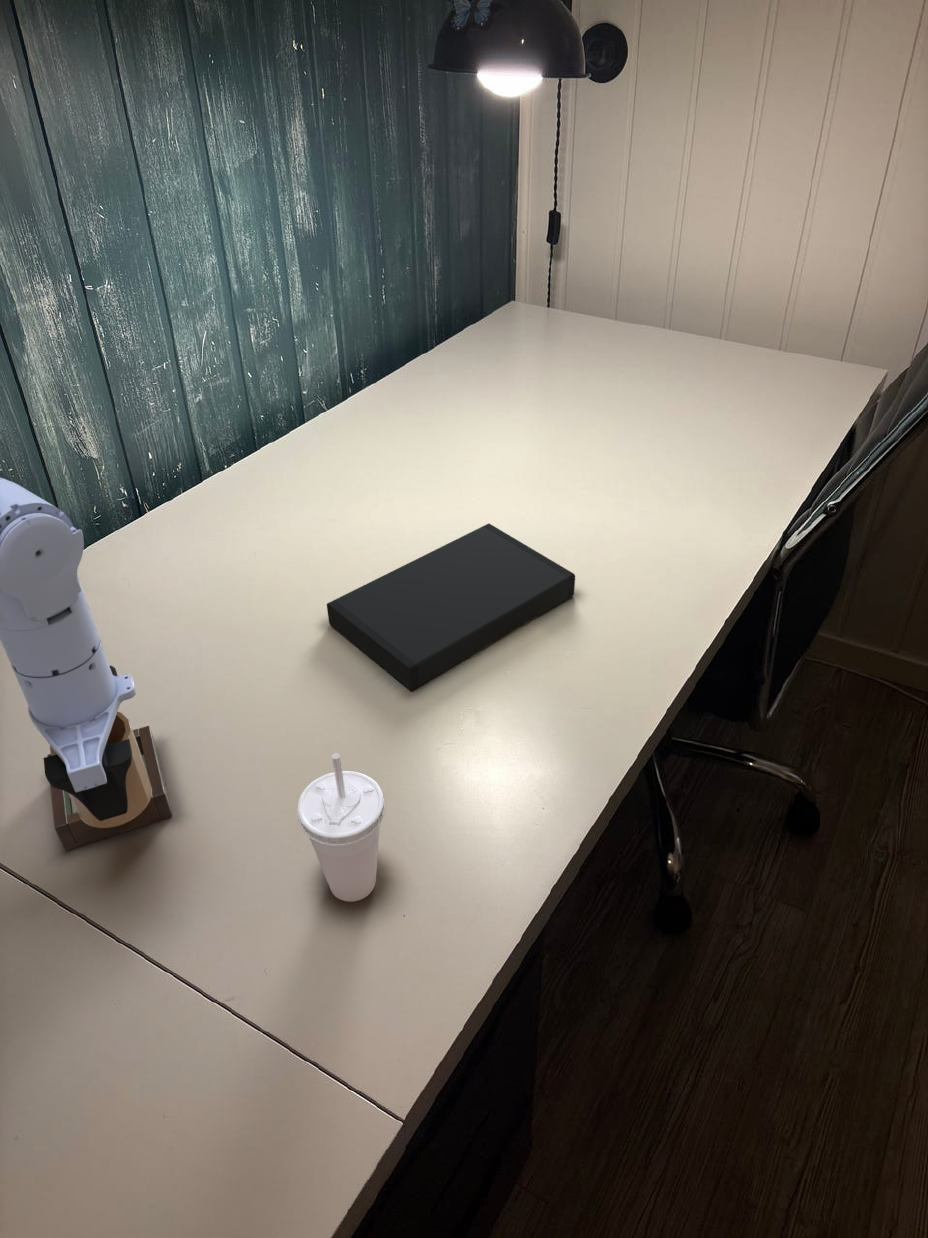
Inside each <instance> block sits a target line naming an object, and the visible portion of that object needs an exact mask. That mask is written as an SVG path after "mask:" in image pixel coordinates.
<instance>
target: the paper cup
mask: <svg viewBox="0 0 928 1238" xmlns="http://www.w3.org/2000/svg"><path fill="white" fill-rule="evenodd" d="M133 730H134V729H133V727H132V725H131V721H130V719H129V718H128V717H127V716H126V715H124V714H123V713H122V712H121V711H119V710H118V711H117V714H116V717H115V720H114V723H113V726H112V729H111V731H110V734H109V737H108V740H107V743H106V745H109V744H113V743H116V742H120V741H123V740H127V739H130V744H131V750H132V761H131V765H130V767H129V769H128V772H127V775H126V791H127V799H128V810H127V813H126V814H122V815H119V816H116V817H113V818H110V819H106V820H103V821H99V820H98V819H97V818H96V817H94V816H93V815H92V814H91V812H90V811H89V810H88V809H87V808H86V807H85V806H84V805H83V804H82V803H81V802H80V801H79V800H78V799H77V798H76V797H74V796H73V795H71V794H70V793H68V794H69V796H70V799H71V801H72V803H73V806H74V808H75V810H76V812H77V814H78V815H79V817H80V819H81V820H82V821H83V822H84V823H86V824H88V825H90V826H93V827H98V828H110V827H115V826H119V825H122V824H125V823H127V822H129V821H131V820H132V819H134V818H135V817H137V816H138V815H139V814H140V813H142V811H143V810H144V809H145V808H146V807H147V805H148V804H149V802H150V799H151V796H152V786H151V783H150V779H149V776H148V773H147V770H146V767H145V764H144V762H143V759H142V756H141V753H140V750H139V747H138V744H137V741H136V738H135V736H134V733H133ZM49 754H51V755H56V754H57V753H56V752H55V751H54V749H53V748H52V747H51V746H50V745H49Z"/></svg>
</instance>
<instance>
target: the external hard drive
mask: <svg viewBox="0 0 928 1238" xmlns="http://www.w3.org/2000/svg"><path fill="white" fill-rule="evenodd" d="M575 585H576V575H575V573H574V572H572V571H570V570H569V569H567V568H565V567H563V566H562V565H560V564H559V563H557V562H556V561H553V559H550V558H548V557H547V556H545V555H543V554H542V553H539V552H538V551H537V550H534V549H533V548H531V547H530V546H528V545H526V544H525V543H523V542H522V541H520V540H518V539H516V538H515V537H513V536H511V535H510V534H508V533H506V532H504V531H503V530H502V529H500V528H498V527H496V526H495V525H493V524H491V523H486V524H484V525H482V526H480V527H478V528H476V529H474V530H472V531H470V532H468V533H466V534H464V535H463V536H460V537H458V538H456V539H455V540H451V541H450V542H448V543H446V544H444V545H441V546H440V547H438V548H436V549H434V550H432V551H429V552H428V553H426V554H424V555H422V556H420V557H418V558H416V559H414V560H412V561H410V562H407V563H406V564H404V565H402V566H400V567H398V568H396V569H393V570H392V571H389V572H388V573H386V574H384V575H382V576H379V577H377V578H375V579H373V580H371V581H370V582H367V583H366V584H364V585H362V586H359V587H357V588H355V589H353V590H352V591H351V590H350V592H348V593H346V594H343V595H342V596H341V595H340V597H337V598H334V599H333V600H331V601H329V602H327V603H326V610H327V617H328V623H329V626H330V627H332V629H334V630H335V631H336V632H338V633H339V634H340V635H341V636H342V637H344V638H345V639H346V640H348V642H350V644H352V645H353V646H355V647H356V648H358V650H360V651H361V652H362V653H363V654H364V655H366V656H367V657H368V658H370V660H372V661H373V662H374V663H376V664H377V665H378V666H379V667H380V668H382V669H383V670H384V671H386V672H387V673H388V674H389V675H390V676H391V677H393V678H394V679H395V680H397V681H398V682H399V683H400V684H401V685H402V686H404V687H405V688H406V689H407V690H409V691H410V692H411V691H414V690H415V689H417V688H418V687H420V686H422V685H423V684H425V683H428V682H429V681H430V680H432V679H434V678H436V677H437V676H439V675H441V674H442V673H444V672H446V671H447V670H449V669H451V668H453V667H454V666H456V665H458V664H459V663H461V662H463V661H464V660H466V659H468V658H470V657H471V656H473V655H475V654H476V653H478V652H480V651H482V650H483V649H485V648H487V647H488V646H490V645H491V644H493V643H495V642H496V641H498V640H500V639H502V638H504V637H505V636H507V635H508V634H511V633H513V631H515V630H518V629H519V628H520V627H522V626H524V625H526V624H527V623H529V622H531V621H532V620H534V619H536V618H537V617H539V616H541V615H543V614H544V613H546V612H548V611H550V610H551V609H553V608H554V607H557V606H558V605H560V604H561V603H563V602H565V601H566V600H568V599H569V598H571V597H574V595H575V589H576V587H575Z"/></svg>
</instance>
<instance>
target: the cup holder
mask: <svg viewBox="0 0 928 1238" xmlns="http://www.w3.org/2000/svg"><path fill="white" fill-rule="evenodd" d="M132 730H133V733H134V736H135V738H136V741H137V744H138V747H139V750H140V753H141V756H142V759H143V762H144V764H145V767H146V770H147V773H148V776H149V779H150V783H151V786H152V796H151V799H150V802H149V804H148V805H147V807H146V808H145V809H144V810H143V811H142V813H140V814H139V815H138V816H137V817H135V818H134V819H132V820H131V821H129V822H127V823H125V824H122V825H119V826H115V827H110V828H98V827H93V826H90V825H88V824H86V823H84V822H83V821H82V820H81V819H80V817H79V815H78V814H77V812H76V810H75V808H74V806H73V803H72V801H71V799H70V796H69V794H68V792H66V791H63V790H60V789H57V788H54V787H52V785H51V784H50V783H49V786H50V796H51V806H52V817H53V826H54V830H55V832H56V834H57V836H58V839H59V840H60V843H61V846H62V847H63V849H64V851H66V852H67V851H69V850H73V849H75V848H78V847H82V846H84V845H88V844H91V843H95V842H97V841H100V840H104V839H107V838H111V837H113V836H116V835H120V834H122V833H125V832H128V831H132V830H135V829H139V828H142V827H144V826H148V825H150V824H153V823H157V822H159V821H163V820H166V819H169V818H172V817H173V812H172V808H171V803H170V798H169V795H168V789H167V786H166V781H165V779H164V773H163V769H162V765H161V760H160V756H159V751H158V748H157V744H156V741H155V738H154V735H153V732H152V729H151V726H150V725H146V726H142V727H139V728H135V729H132ZM46 755H47V756H46V757H49V756H52V755H51V753H49V754H46Z"/></svg>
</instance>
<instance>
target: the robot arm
mask: <svg viewBox="0 0 928 1238" xmlns="http://www.w3.org/2000/svg"><path fill="white" fill-rule="evenodd" d="M84 547H85V540H84V534H83V530H82V529H77V528H76V527H74V524H73V523H72V521H71V519H70V518H69V516H68V515H67V514H66V513H65V512H63V511H62V510H60V508H58V507H56V506H55V505H53V504H52V503H50V502H48V501H47V500H45V499H43V498H42V497H39V496H38V495H36V494H35V493H33V492H31V491H29V490H28V489H26V488H24V487H23V486H21V485H19V484H18V483H16V482H13V481H11V480H8V479H6V478H4V477H0V643H1V645H2V648H3V649H4V653H5V655H6V657H7V659H8V661H9V664H10V666H11V668H12V671H13V673H14V675H15V678H16V680H17V683H18V685H19V688H20V690H21V692H22V694H23V696H24V699H25V701H26V703H27V706H28V707H27V711H28V715H29V718H30V721H31V722H32V724H33V725H34V727H35V728H36V730H37V731H38V732H39V734H41V736H42V737H43V738H44V740H45V741H46V742H47V743H48V745H49V747H50V746H51V747H52V748H53V749H54V751H55V752H56V753H57V754H56V755H52V756H49V757H47V756H45V757H44V758H43V767H44V768H43V769H44V775H45V778H46V780H47V782H48V783H49V785H50V784H51V785H52V787H54V788H57V789H60V790H63V791H66V792H68V793H70V794H71V795H73V796H74V797H76V798H77V799H78V800H79V801H80V802H81V803H82V804H83V805H84V806H85V807H86V808H87V809H88V810H89V811H90V812H91V814H92V815H93V816H94V817H96V818H97V819H98V820H99V821H103V820H106V819H110V818H113V817H116V816H119V815H122V814H126V813H127V810H128V799H127V791H126V775H127V772H128V769H129V767H130V765H131V761H132V750H131V744H130V739H127V740H123V741H120V742H116V743H113V744H109V745H106V743H107V740H108V737H109V734H110V731H111V729H112V726H113V723H114V720H115V717H116V714H117V711H118V712H119V708H120V706H121V704H122V702H124V701H127V700H130V699H133V698H134V697H135V696H136V694H137V690H136V686H135V682H134V679H133V676H132V675H131V674H121V675H118V671H117V670H116V667H115V666H113V665H111V664H110V663H109V661H108V658H107V655H106V652H105V649H104V646H103V643H102V640H101V637H100V634H99V631H98V628H97V625H96V623H95V620H94V617H93V613H92V611H91V608H90V605H89V602H88V599H87V596H86V594H85V591H84V587H83V585H82V583H81V581H80V578H79V576H78V575H79V574H78V569H79V566H80V564H81V561H82V558H83V554H84Z"/></svg>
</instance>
